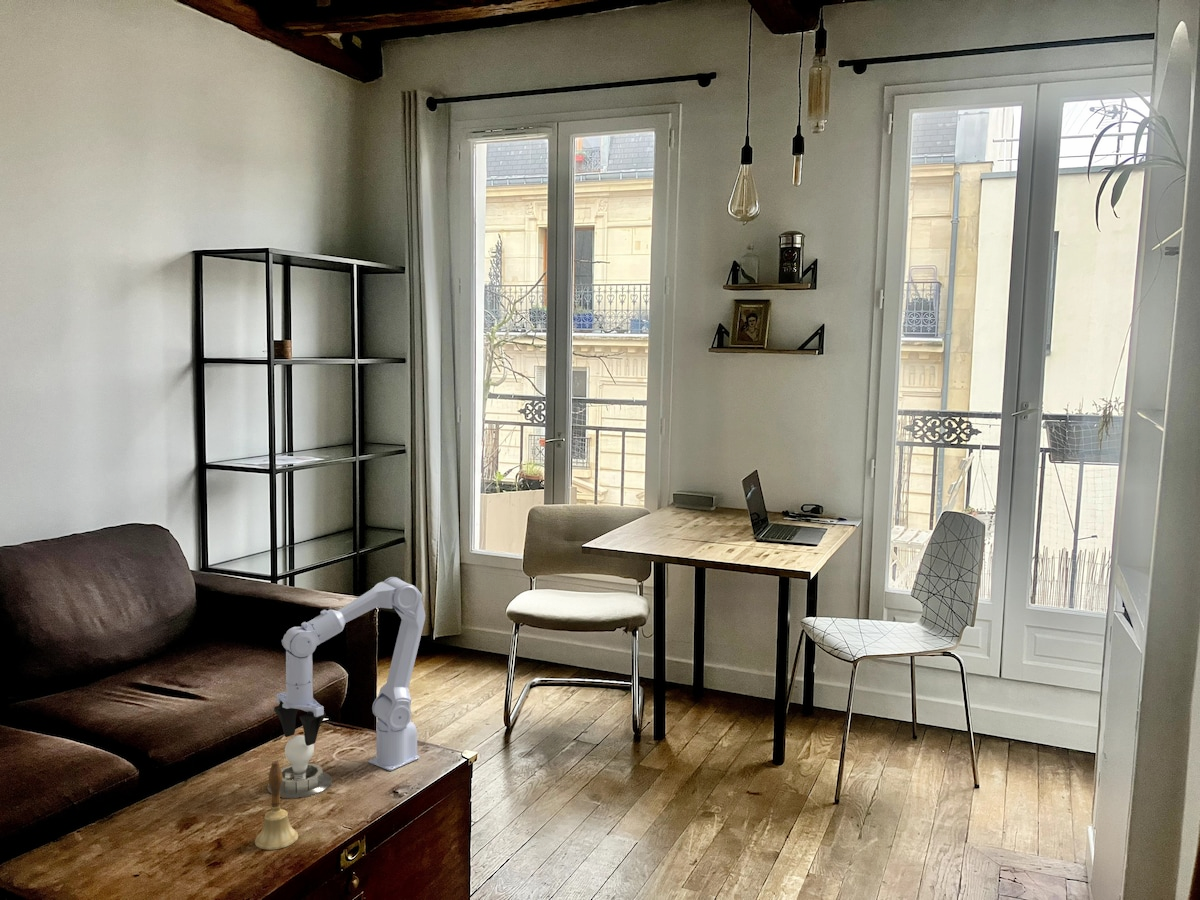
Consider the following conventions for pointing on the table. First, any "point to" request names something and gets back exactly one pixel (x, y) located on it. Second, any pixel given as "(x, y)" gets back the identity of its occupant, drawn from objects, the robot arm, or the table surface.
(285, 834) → the hand bell
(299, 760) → the lightbulb
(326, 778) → the lamp base
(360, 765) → the table surface
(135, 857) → the table surface
